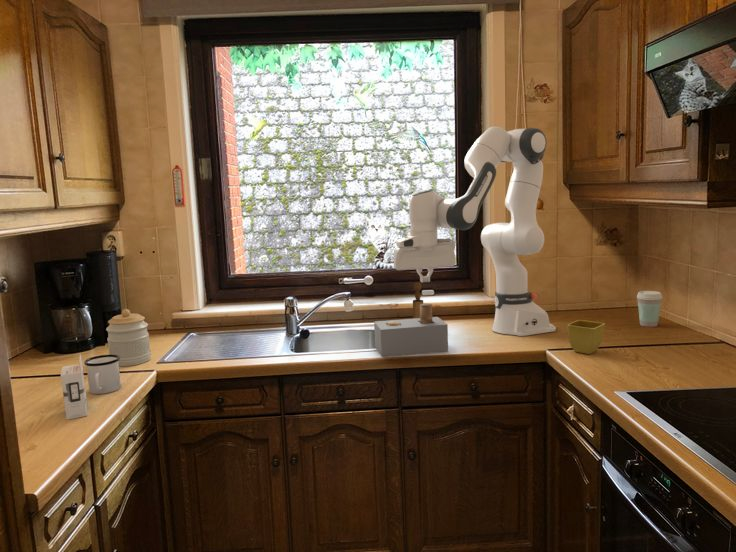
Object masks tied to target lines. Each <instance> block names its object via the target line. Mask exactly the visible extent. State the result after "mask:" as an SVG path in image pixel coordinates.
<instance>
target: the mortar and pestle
mask: <svg viewBox="0 0 736 552" xmlns="http://www.w3.org/2000/svg"><path fill="white" fill-rule="evenodd" d="M412 287H413V289H414V291H415V294H414V297H415V298H414V299H413V300H412V319H415V318H420V304H424V300H423V299H421V297H422V294H421V292H420V291H421V288H422V282H420V281H415V282H414V283H413V286H412Z"/></svg>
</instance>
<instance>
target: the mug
mask: <svg viewBox="0 0 736 552" xmlns="http://www.w3.org/2000/svg"><path fill="white" fill-rule="evenodd" d="M119 360H120V356H118V355H109V354H102V355H101V354H100V355H96V356H92V357H89V358H87V359H85V360H84V361H83V364H84V365H85V366H86V372H87V381H88V390H89V393H91V394H93V395H105V394H110V393H113V392H116V391H117V390H120V388H121V387H122V383H121V375H120V366H119V363H118V361H119Z"/></svg>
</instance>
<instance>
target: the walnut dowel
mask: <svg viewBox="0 0 736 552" xmlns="http://www.w3.org/2000/svg"><path fill="white" fill-rule="evenodd" d="M432 317H433V304H432V303H423V304H420V323H421V324H425V323H432Z"/></svg>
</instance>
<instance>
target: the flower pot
mask: <svg viewBox="0 0 736 552" xmlns="http://www.w3.org/2000/svg"><path fill="white" fill-rule="evenodd" d="M566 326H567V335H568V341H569V343H570V347H571V348H572V349H573V351H574V352H576V353H579V354H585V355H586V354H587V355H591V354H592V353H595V352H597V351H598V349H599V348H600V346H601V345H602V341H603V338H604V334H605V333H604V332H605V329H606V328H605V326H606V323H605V322H600V321H591V320H584V319H583V320H582V319H577V320H575V321H573V322H570V323H568V324H567V325H566Z"/></svg>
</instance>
